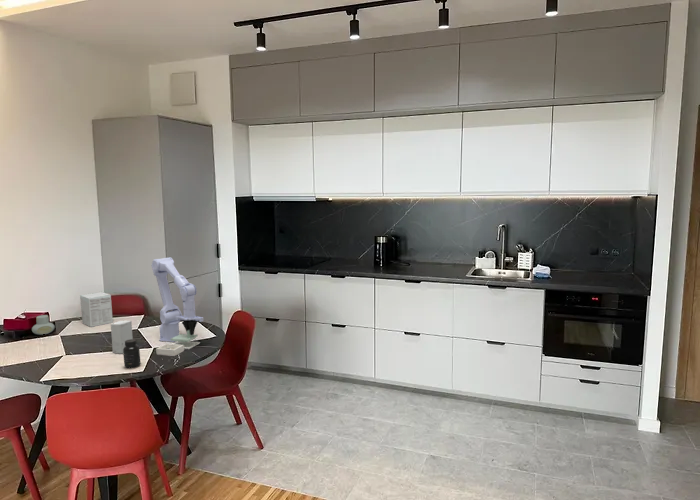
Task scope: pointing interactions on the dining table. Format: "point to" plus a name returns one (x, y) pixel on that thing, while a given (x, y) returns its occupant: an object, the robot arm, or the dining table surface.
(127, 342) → the supplement bottle
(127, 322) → the skincare box
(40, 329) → the air freshener
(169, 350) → the tub
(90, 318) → the supplement box
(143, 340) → the dining table surface
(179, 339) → the lid
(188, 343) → the mat
